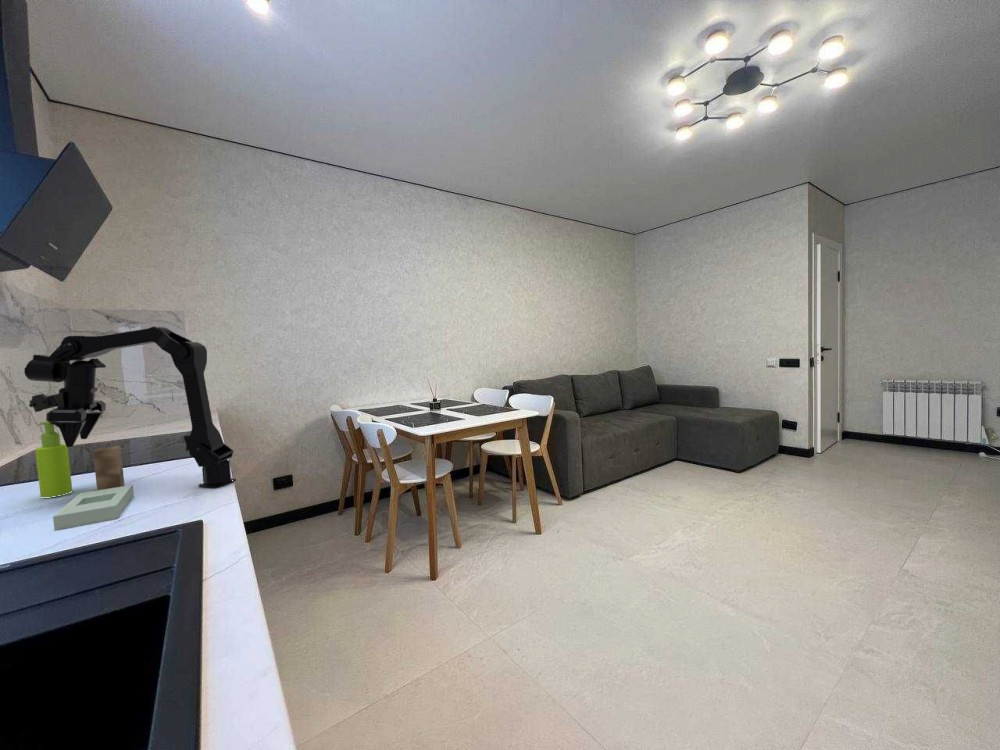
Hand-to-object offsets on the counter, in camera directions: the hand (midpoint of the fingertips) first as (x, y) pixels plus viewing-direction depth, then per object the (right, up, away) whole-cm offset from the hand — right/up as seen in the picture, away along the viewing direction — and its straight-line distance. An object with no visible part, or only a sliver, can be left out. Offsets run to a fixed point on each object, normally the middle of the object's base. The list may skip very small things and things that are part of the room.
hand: (77, 442), depth 110 cm
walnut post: (+9, -14, 0) cm, 17 cm away
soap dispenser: (-7, -15, +2) cm, 16 cm away
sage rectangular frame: (+17, -14, -11) cm, 25 cm away
